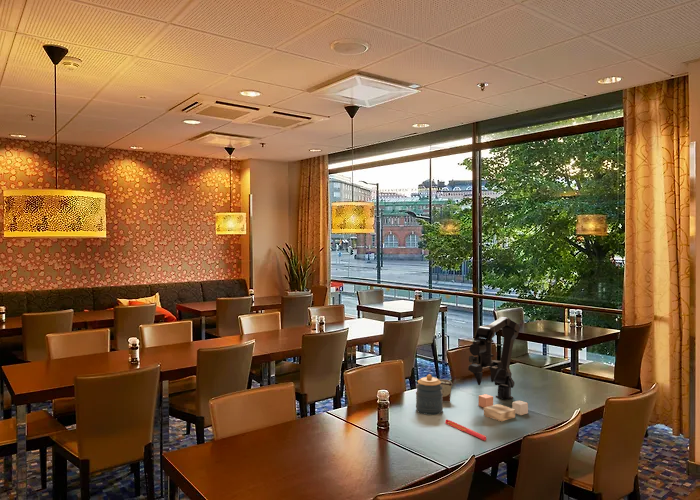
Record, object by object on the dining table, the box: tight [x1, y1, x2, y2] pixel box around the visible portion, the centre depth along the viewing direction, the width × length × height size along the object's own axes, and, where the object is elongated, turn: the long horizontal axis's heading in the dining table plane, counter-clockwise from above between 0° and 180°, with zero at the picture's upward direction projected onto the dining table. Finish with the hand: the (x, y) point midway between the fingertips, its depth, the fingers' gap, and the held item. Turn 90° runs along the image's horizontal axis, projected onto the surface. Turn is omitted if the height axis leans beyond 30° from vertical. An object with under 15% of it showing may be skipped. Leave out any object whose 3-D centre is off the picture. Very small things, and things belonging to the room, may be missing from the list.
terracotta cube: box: [478, 393, 494, 408], centre depth 259 cm, size 5×5×5 cm
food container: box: [437, 378, 454, 403], centre depth 269 cm, size 12×6×10 cm, turn 84°
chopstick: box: [444, 419, 487, 441], centre depth 225 cm, size 24×2×5 cm
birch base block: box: [483, 403, 516, 422], centre depth 244 cm, size 10×10×4 cm
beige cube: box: [511, 399, 529, 416], centre depth 248 cm, size 5×5×5 cm
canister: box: [415, 373, 444, 416], centre depth 252 cm, size 13×13×18 cm
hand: (485, 383), depth 259 cm, fingers open, 9 cm apart
